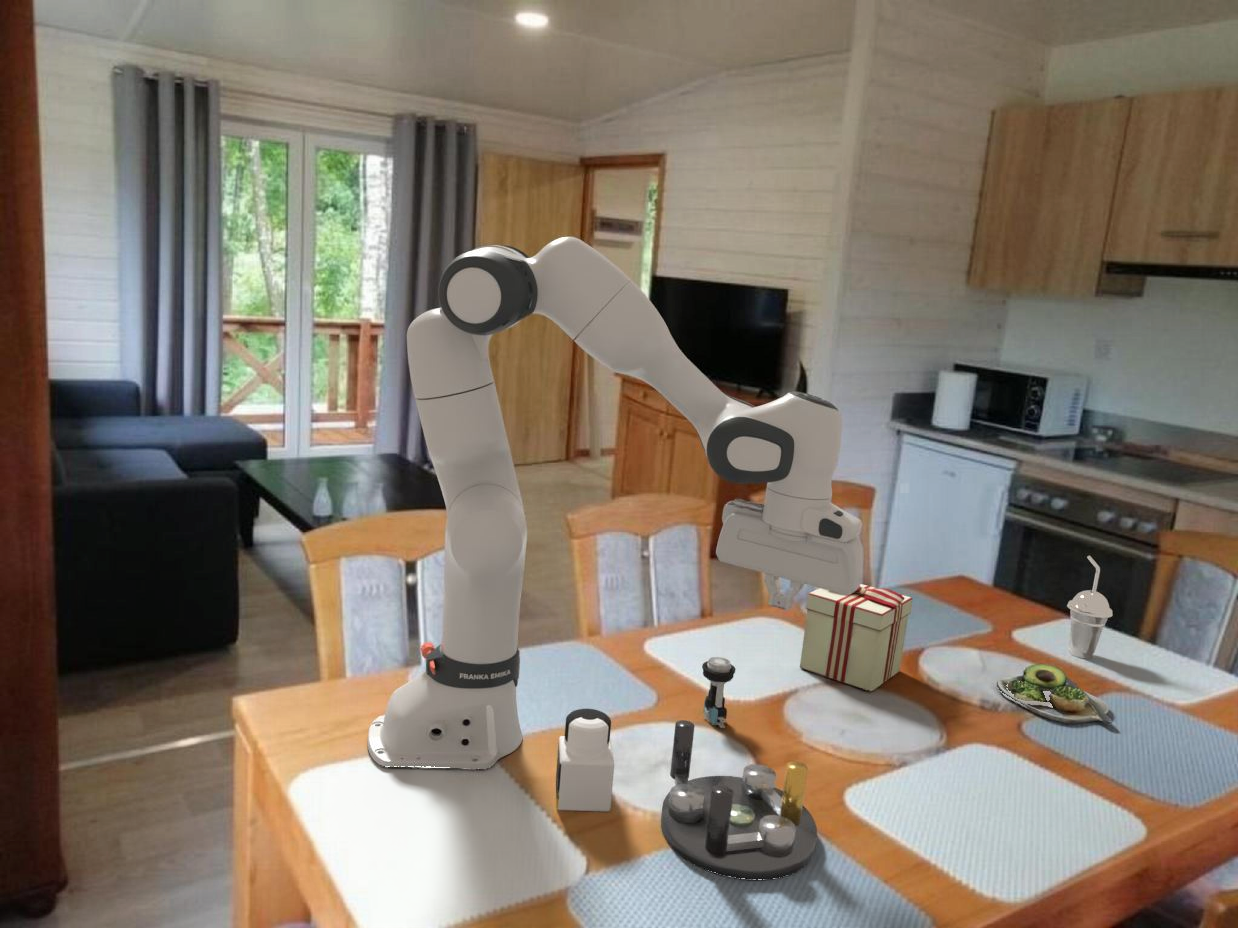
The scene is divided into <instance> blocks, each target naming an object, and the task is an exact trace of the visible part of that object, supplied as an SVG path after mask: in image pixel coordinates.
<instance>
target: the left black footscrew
mask: <svg viewBox="0 0 1238 928" xmlns="http://www.w3.org/2000/svg"><path fill="white" fill-rule="evenodd" d="M694 733H695V724H694V723H693V722H692V721H689V720H683V719H681V720H677V721H676V722H675V725H674V734H673V746H672V754H671V763H670V771H669V772H670V773H669V775H670V777H671V778H672V779H673V780H674V786H672V787H671V789H670V790H669V792H670V799H669V809H668V812H669V815H670V816H671V817H672V818H673V819H675V820H677V821H680V822H684V823H693V822H697V821H699V820H700V819H701V818H702V813H703V804H704V792H703V791H702V790H701V789H700V788H698V787H696V786H694V785H690V784H689V779H690V771H691V763H692V754H693V753H692V752H693V745H694V744H693V743H694V735H695V734H694Z"/></svg>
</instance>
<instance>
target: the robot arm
mask: <svg viewBox="0 0 1238 928" xmlns="http://www.w3.org/2000/svg"><path fill="white" fill-rule="evenodd" d="M438 300H439V305H440V307H438V308H432V309H429V310H427V311H425V312H423V313H421V314H420V315H418V316H417V317H416V318H415V319H413V320H412V322H411V323H410V324H409V326H408V329H407V332H406V346H407V347H406V348H407V361H408V362H407V363H408V368H409V369H408V370H409V376H410V382H411V386H412V392H413V396H414V399H415V404H416V408H417V412H418V416H419V420H420V424H421V428H422V432H423V436H424V440H425V444H426V447H427V452H428V455H429V458H430V460H431V463H432V466H433V468H434V469H433V470H434V471H435V474H436V477H437V480H438V483H439V486H440V490H441V493H442V497H443V500H444V504H445V510H446V523H445V525H446V526H445V535H444V536H445V538H444V539H445V541H444V565H443V597H442V598H443V599H442V619H441V621H442V623H441V642H440V644H439V645H438V646H436V647H435V644H433V642H430V641H426V642H424V643H422V645H421V647H420V651H421V656H422V657H423V658H424V659H425V670H424V671H422V672H421V673H419V674H418V675H416V676H415V677H414V678H412V679H411V680H409V681H407V682H406V683H404V684H403V685H401V686H400V687H398V688H396V689H395V690H394V691H393V692H392V693H391V695H390V698H389V699H388V703H387V705H386V709H385V713H384V714H383V715H379V716H378V717H376V718H375V719H374V720H373V721H372V722H371V724H370V726H369V728H368V734H367V748H368V752H369V754H370V757H371V758H372V760H374V761H375V762H376V763H377V764H378V765H379V766H381V765H382V766H381V767H383V766H390V767H394V766H397V767H398V766H399V767H401V766H405V767H408V766H414V767H415V766H421V767H422V766H424V767H426V766H431V767H434V766H435V767H450V768H462V769H461V770H464V769H463V768H467V769H466V770H476V769H478V768H479V769H484V770H488V769H491V766H492V767H493V766H494V764H496V763H497V761H499V759H501V758H503V757H505V756H507V755H510V754H512V752H514V751H516V749H518V748H519V746H520V745H521V743H522V740H523V732H522V728H521V724H520V720H519V713H518V703H517V686H518V682H519V679H520V669H521V666H520V665H521V656H520V655H521V654H520V650H519V648H518V638H519V625H520V624H519V622H520V609H521V607H520V606H521V596H522V588H523V582H524V580H523V579H524V573H525V572H524V570H525V563H526V562H525V561H526V551H527V540H528V527H527V522H526V521H527V520H526V515H525V510H524V509H525V508H524V504H523V499H522V495H521V490H520V485H519V482H518V477H517V473H516V469H515V465H514V461H513V457H512V451H511V447H510V443H509V440H508V436H507V431H506V427H505V422H504V418H503V414H502V409H501V405H500V401H499V400H500V399H499V395H498V391H497V388H496V382H495V377H494V374H493V370H492V366H491V362H490V357H489V356H490V355H489V346H490V345H489V344H490V340H491V339H492V336H493V335H495V334H499V333H501V332H503V331H506V330H508V329H510V328H512V327H514V326H516V325H517V324H518V323H519V322H521V321H523V319H526V318H527V317H529V316H531V315H541V316H543V317H546V318H548V319H549V320H550V321H552V322H554V324H556V325H557V326H558V327H559V328H560V329H561V330H562V331H563V332H564V333H565V334H566V335H567V336H569V337H570V339H571V340H573V342H575V344H576V345H577V346H579V348H581V349H582V350H583V351H584V352H585V353H586V354H588V355H589V356H591V358H593V359H594V360H595V361H597V362H598V363H600V364H602V365H603V366H604V367H606V368H607V369H608V370H611V371H612V372H613V373H618V374H620V375H621V374H622V375H626V376H630V377H633V378H636V379H639V380H640V381H643V382H644V383H646V384H648V385H649V386H651V387H652V388H654V389H655V390H656V391H657V392H658V393H659V394H660V395H662V396H663V398H665V400H667V401H668V402H669V403H670V404H671V405H672V406H673V407H674V408H675V409H676V410H677V411H678V412H679V413H681V414H682V415H683V416H684V417H685V419H687V420H688V421H689V422H690V424H691V425H692V426H693V428H694V429H695V431H696V433H697V436H698V438H699V441H700V444H701V446H702V449H703V450H704V452H705V456H706V458H707V459H706V460H707V461H708V463H709V466H710V467H711V468H712V470H713V472H714V473H715V474H716V475H717V476H719V478H721V479H723V480H724V481H727V482H728V483H733V484H742V485H744V484H747V485H748V484H766V488H765V489H766V490H765V495H764V503H759V502H754V501H748V500H744V499H741V498H735V499H734V500H730V501H727V502H726V503H725V504H724V506H723V509H722V515H721V516H722V517H721V520H722V527H721V530H720V534H719V537H718V539H717V540H718V541H717V545H716V548H715V549H716V550H715V555H716V556H717V558H718V561H719V562H722V563H725V564H728V565H729V564H730V565H731V566H732V565H733V566H737V567H740V568H744V569H747V570H752V571H756V572H759V573H763V574H764V579H763V582H764V583H765V587H766V590H767V592H768V594H769V599H768V606H770V607H774V608H777V609H780V610H784V611H788V612H789V611H790V610H791V609H792V607H793V603H794V598H795V596H797V594H798V593H799V592H800V591H801V590H802V589H803V587H804V585H807V586H809V587H810V586H811V587H814V588H817V589H819V588H822V589H825V590H829V591H833V592H837V593H840V594H844V595H850V594H852V593H853V592H855V591H856V590H857V589H858V588H859V586H860V584H862V580H863V579H862V578H863V569H864V568H863V567H864V547H863V544H862V542H861V540H860V539H859V537H858V536H859V535H860V533H861V532H862V528H863V522H862V520H861V519H860V518H858V517H856V516H854V515H853V514H851V513H849V512H847V511H846V510H844V509H842V508H840V507H839V506H838V505H836V504H834V503H833V502H832V499H833V498H832V497H833V489H832V481H833V476H834V473H835V471H836V469H837V467H838V465H839V464H838V463H839V457H840V451H841V444H842V443H841V442H842V429H843V426H842V422H843V421H842V420H843V419H842V414H841V413H840V411H839V409H838V408H837V407H836V406H835V405H834V404H833V403H831V402H830V401H828V400H826V399H823V398H822V397H819V396H815V395H812V394H810V393H806V392H801V391H789V392H787V393H786V394H785V395H784V396H781V397H779V398H777V399H775V400H772V401H770V402H767V403H765V404H762V405H758V406H755V405H754V404H752V403H750V402H748V401H746V400H742V399H739V398H737V397H734V396H731V395H728V394H727V393H726V392H724V391H723V390H721V389H720V388H719V387H718V386H717V385H716V384H714V383H713V382H712V380H711V379H709V377H707V375H706V374H704V373H703V372H702V371H701V370H700V369H699V368H698V367H697V366H696V365H695V364H694V363H693V362H692V361H691V360H690V358H687V356H686V355H685V354H684V353H683V352H682V350H681V349H680V348H679V346H678V344H677V343H676V341H675V339H674V338H673V336H672V334H671V332H670V330H669V327H668V326H667V324H666V322H665V320H664V318H663V317H662V316H661V314H660V312H659V311H658V309H657V308H656V307H655V305H654V304H653V303H652V301H651V299H649V298H648V296H647V295H646V294H645V293H644V292H643V291H642V289H641V288H640V287H639V286H638V285H637V284H636V282H634V281H633V280H632V279H631V278H630V277H629V276H628V275H627V274H626V273H624V272H623V270H622V269H620V268H619V267H618V266H617V265H616V264H615V263H613V262H612V261H611V260H610V259H608V258H607V257H606V256H605V255H603V254H602V253H601V252H599V251H598V250H597V249H595V248H594V247H592V246H590V245H589V244H587V243H586V242H585V241H583V240H582V239H580V238H577V237H575V236H564V237H559V238H556V239H554V240H553V241H550V242H549V243H547V244H546V245H545V246H543V247H542V248H541V249H540V251H538V252H537V253H536V254H535V255H533V256H531V257H530V256H529V255H527V254H526V253H525V252H524V251H522V250H520V249H518V248H517V247H514V246H510V245H503V244H501V245H498V244H497V245H495V244H491V245H489V244H488V245H482V246H479V247H476V248H473V249H472V250H470V251H467V252H464V253H461V254H459V255H458V256H456V257H455V258H454V259H452V261H451V262H449V264H448V265H447V266H446V268H444V270H443V273H442V274H441V277H440V281H439V284H438ZM780 578H781V579H784V580H788V581H790V582H789V588H791V591H790V592H789V593H788V594H787V593H784V592H783V593H782V592H779V588H778V586H777V583H776V581H777V580H779V579H780ZM468 768H470V769H468ZM473 768H474V769H473ZM487 768H488V769H487Z"/></svg>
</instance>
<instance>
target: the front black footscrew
mask: <svg viewBox="0 0 1238 928" xmlns="http://www.w3.org/2000/svg"><path fill="white" fill-rule="evenodd" d="M732 801H733V790H732V789H730V788H729V787H726V786H722V785H718V786H714V787H713V788H712V791H711V800H710V808H709V817H708V826H707V835H706V843H705V849H706V850H707V851H708V852H709V853H711V854H714V855H722V854H724V853H726V851H734V850H743V849H751V848H760V849H761V850H762V851H763V852H764V853H766V854H768V855H771V856H776V857H784V856H788V855H790V854H791V853H792V851H793V846H794V839H795V831H796V827H795V825H794V823H793V822H792V821H790V820H789V819H787V818H785V817H782V816H777V815H768V816H765V817H763V818H762V819H761V820H760V824H759V832H755V833H746V834H737V835H728V834H729V826H730V818H731V809H732Z"/></svg>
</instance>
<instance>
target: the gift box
mask: <svg viewBox="0 0 1238 928" xmlns="http://www.w3.org/2000/svg"><path fill="white" fill-rule="evenodd" d="M806 596H807V597H806V602H805V603H806V604H805V610H806V617H805V625H804V633H803V640H802V648H801V654H800V660H799V662H800V663H799V667H800V669H803V670H806V671H808V672H810V673H811V672H812V673H814V674H817V675H819V676H823V677H826V678H828V679H831V680H835V681H837V682H840V683H843V684H846V685H850V686H851V687H855V688H858V687H859V689H861V688H864V689H866V690H865V691H867V690H870V691H869V692H874V690H876V689H878V687H880V686H881V685H882V684H884V683H886V682H887V681H889V680H890V679H891V678H893V677H894V676H895V675H897V674H898V673H899V672H900V670H901V664H902V659H903V651H904V645H905V638H906V631H907V627H908V620H909V615H910V614H911V612H912V608H913V597H911V596H907V595H905V594H902V593H898V592H896V591H894V590H891V589H889V588H879V587H875V586H874V587H873V586H871V585H866V584H862V583H861V584H860V586H859V588H858V589H857V590H856V591H855V592H853V593H852V594H850V595H844V594H840V593H837V592H833V591H829V590H825V589H822V588H817V589H814V590H813V591H811V592H808V593H807V595H806ZM864 689H863V690H864Z"/></svg>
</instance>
